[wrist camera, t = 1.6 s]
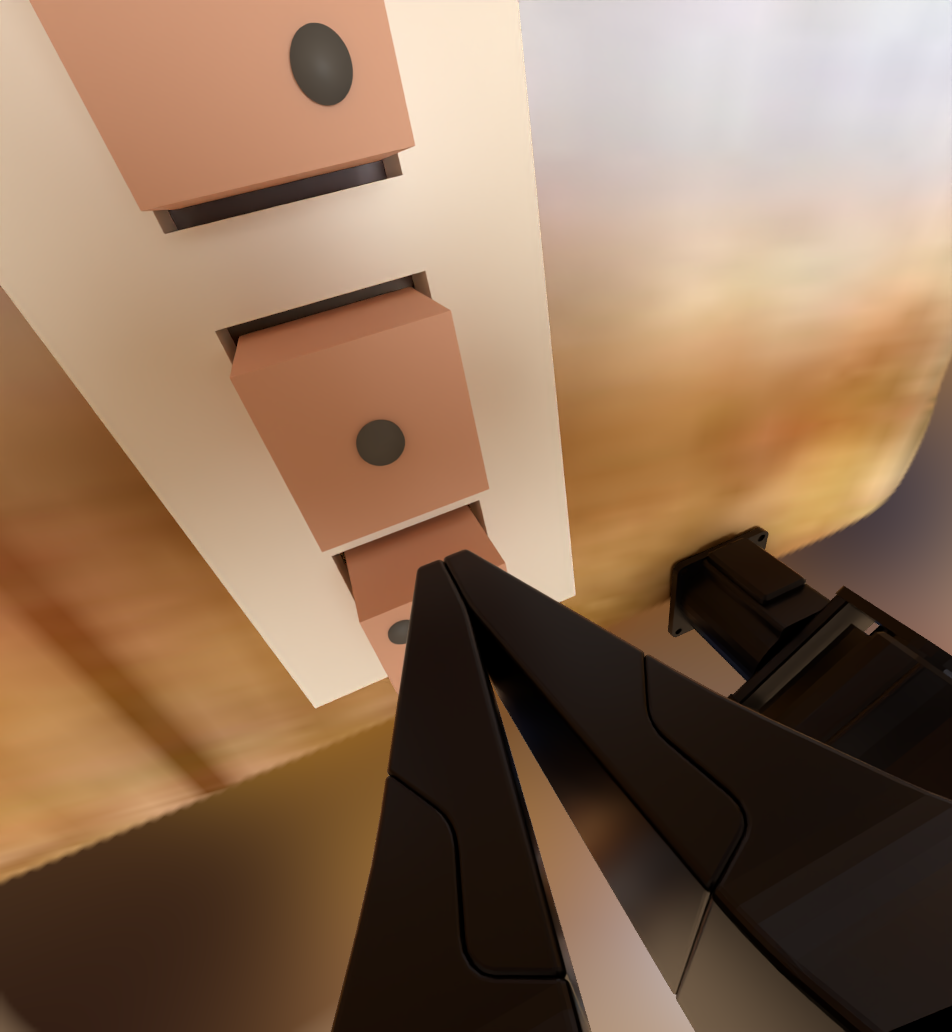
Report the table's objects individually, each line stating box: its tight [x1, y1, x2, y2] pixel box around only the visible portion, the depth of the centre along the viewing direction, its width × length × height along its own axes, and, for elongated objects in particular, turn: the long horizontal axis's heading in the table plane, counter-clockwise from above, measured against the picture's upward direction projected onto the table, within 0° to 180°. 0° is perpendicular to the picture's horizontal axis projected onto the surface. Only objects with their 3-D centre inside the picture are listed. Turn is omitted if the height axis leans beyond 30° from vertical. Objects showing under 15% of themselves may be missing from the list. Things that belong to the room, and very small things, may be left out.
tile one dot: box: [230, 287, 489, 552], centre depth 13 cm, size 5×5×4 cm
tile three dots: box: [344, 505, 507, 695], centre depth 18 cm, size 5×5×4 cm
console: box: [0, 0, 576, 708], centre depth 15 cm, size 25×13×2 cm, turn 13°
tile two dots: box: [29, 0, 415, 211], centre depth 9 cm, size 5×5×4 cm
